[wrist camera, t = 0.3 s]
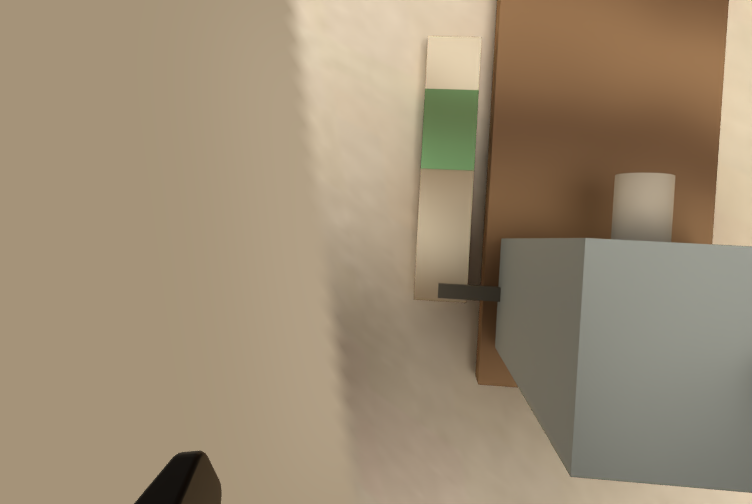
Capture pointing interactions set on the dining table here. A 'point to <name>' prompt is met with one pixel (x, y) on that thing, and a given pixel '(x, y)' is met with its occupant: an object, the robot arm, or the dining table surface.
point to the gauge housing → (566, 132)
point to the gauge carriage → (632, 345)
